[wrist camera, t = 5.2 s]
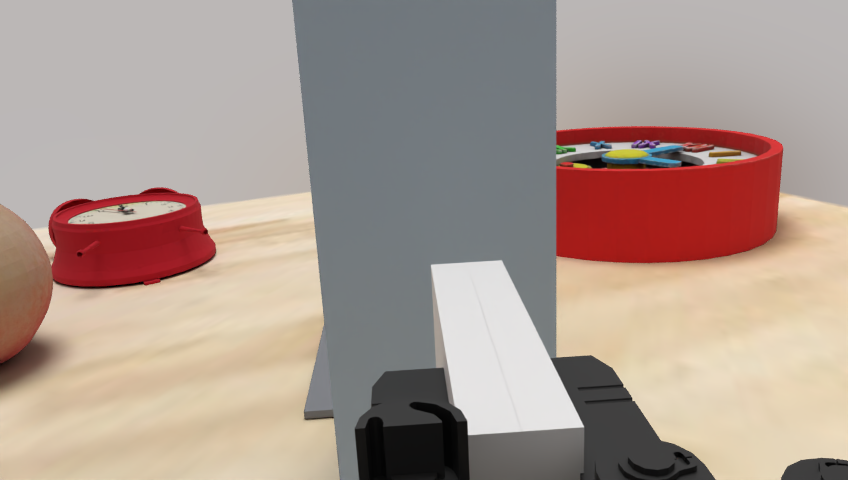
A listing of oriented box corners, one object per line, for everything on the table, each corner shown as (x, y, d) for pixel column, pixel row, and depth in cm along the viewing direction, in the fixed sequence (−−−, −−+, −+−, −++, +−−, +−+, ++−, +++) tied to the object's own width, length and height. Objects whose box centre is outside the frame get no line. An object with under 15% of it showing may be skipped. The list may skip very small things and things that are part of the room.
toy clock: (433, 148, 53) (619, 120, 63) (437, 222, 55) (618, 184, 65) (639, 186, 37) (847, 140, 46) (635, 290, 38) (837, 225, 48)
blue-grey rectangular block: (556, 526, 20) (555, -34, 16) (346, 543, 20) (290, -20, 16) (518, 417, 26) (511, -14, 22) (356, 429, 25) (317, -3, 21)
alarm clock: (47, 249, 39) (25, 159, 50) (67, 341, 42) (42, 236, 53) (232, 217, 44) (174, 142, 55) (238, 302, 47) (182, 213, 58)
